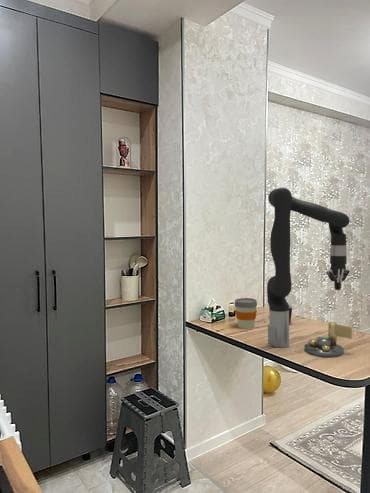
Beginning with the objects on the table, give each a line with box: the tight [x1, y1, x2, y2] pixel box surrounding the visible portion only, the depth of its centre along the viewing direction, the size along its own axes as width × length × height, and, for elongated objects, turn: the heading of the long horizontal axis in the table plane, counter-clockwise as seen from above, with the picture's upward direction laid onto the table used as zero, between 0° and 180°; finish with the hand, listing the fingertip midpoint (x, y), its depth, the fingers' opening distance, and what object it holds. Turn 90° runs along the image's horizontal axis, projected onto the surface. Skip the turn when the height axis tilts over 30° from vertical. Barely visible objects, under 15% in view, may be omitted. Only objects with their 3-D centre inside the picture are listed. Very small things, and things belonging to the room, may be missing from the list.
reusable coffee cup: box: [234, 297, 258, 330], centre depth 221 cm, size 13×13×15 cm
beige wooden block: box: [327, 321, 353, 347], centre depth 178 cm, size 11×4×10 cm, turn 41°
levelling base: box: [303, 335, 345, 358], centre depth 179 cm, size 17×17×6 cm
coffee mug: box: [289, 305, 293, 326], centre depth 226 cm, size 12×9×10 cm
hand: (337, 289), depth 190 cm, fingers closed
